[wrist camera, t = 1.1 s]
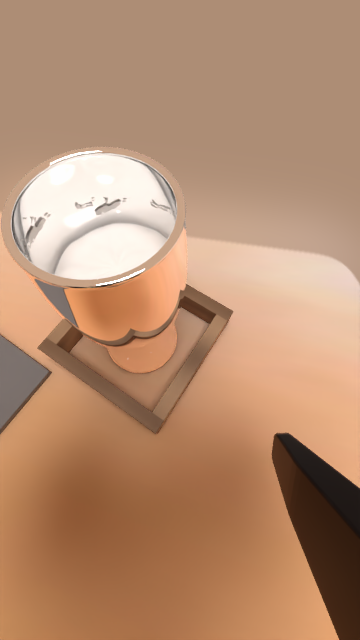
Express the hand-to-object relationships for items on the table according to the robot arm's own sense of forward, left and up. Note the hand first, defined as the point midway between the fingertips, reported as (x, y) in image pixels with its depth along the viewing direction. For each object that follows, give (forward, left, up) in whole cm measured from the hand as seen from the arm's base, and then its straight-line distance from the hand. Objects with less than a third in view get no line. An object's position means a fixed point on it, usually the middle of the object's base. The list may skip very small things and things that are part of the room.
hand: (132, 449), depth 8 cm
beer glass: (+6, +6, -13) cm, 16 cm away
